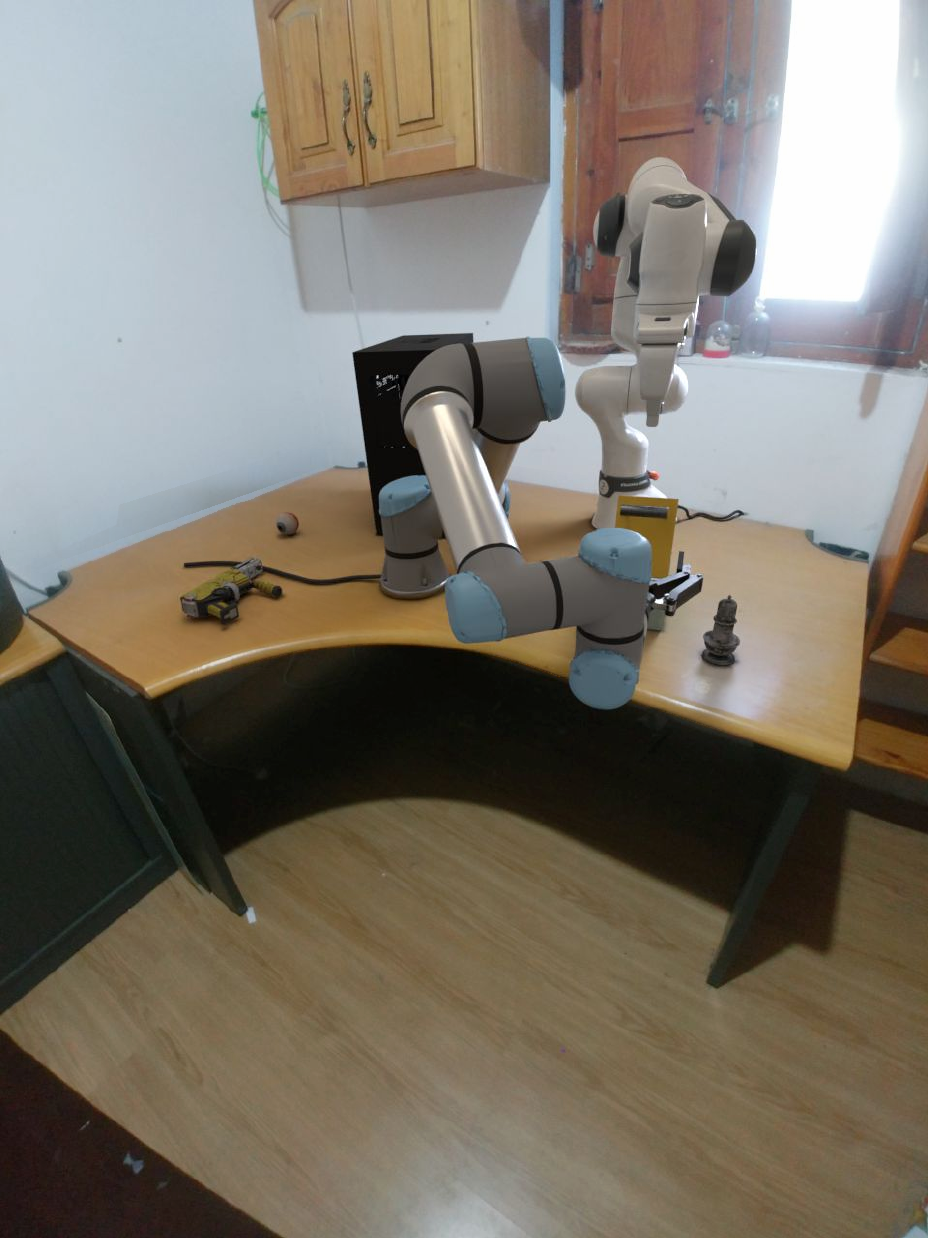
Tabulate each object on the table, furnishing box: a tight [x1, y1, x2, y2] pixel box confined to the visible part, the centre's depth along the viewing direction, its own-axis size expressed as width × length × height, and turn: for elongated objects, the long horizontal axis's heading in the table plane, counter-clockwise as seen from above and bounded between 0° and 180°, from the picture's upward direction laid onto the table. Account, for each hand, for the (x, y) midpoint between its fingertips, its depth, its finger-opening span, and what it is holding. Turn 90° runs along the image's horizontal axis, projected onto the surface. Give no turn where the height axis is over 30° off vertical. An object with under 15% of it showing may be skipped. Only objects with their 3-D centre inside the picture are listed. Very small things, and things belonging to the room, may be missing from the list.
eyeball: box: [275, 511, 300, 536], centre depth 163 cm, size 6×6×6 cm
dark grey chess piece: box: [701, 594, 741, 666], centre depth 101 cm, size 6×6×12 cm
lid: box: [615, 495, 680, 578], centre depth 104 cm, size 14×10×9 cm
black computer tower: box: [351, 332, 474, 539], centre depth 164 cm, size 38×20×45 cm, turn 167°
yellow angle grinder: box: [179, 556, 283, 625], centre depth 132 cm, size 5×24×15 cm
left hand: (635, 555), depth 96 cm, fingers open, 13 cm apart
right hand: (654, 419), depth 98 cm, fingers open, 8 cm apart
